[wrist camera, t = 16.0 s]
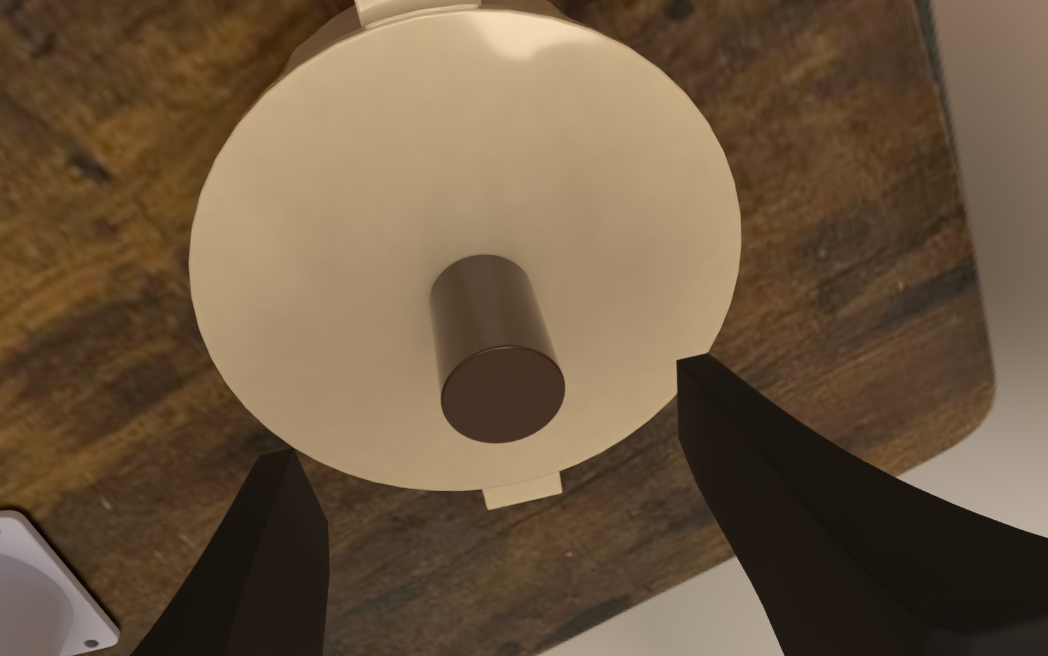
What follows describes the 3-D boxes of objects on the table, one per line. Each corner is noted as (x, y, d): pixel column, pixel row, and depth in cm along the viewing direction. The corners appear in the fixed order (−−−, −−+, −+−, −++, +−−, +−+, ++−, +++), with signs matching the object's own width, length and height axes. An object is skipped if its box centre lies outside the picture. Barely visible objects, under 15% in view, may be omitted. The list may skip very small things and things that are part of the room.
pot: (346, 437, 26) (341, 564, 22) (133, -99, 16) (44, -71, 12) (655, 368, 27) (711, 477, 22) (627, -188, 17) (719, -192, 12)
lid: (302, 504, 21) (287, 653, 17) (90, 64, 14) (-17, 156, 10) (720, 408, 22) (793, 531, 18) (729, -58, 14) (855, -16, 11)
